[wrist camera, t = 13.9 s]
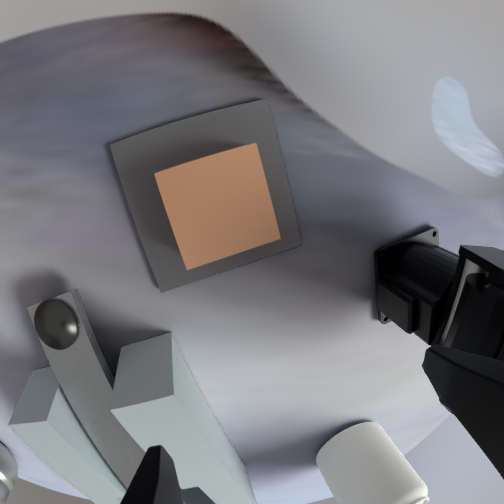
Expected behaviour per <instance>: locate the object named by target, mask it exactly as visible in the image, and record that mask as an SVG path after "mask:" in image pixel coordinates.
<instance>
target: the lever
mask: <svg viewBox="0 0 504 504" xmlns="http://www.w3.org/2000/svg"><path fill="white" fill-rule="evenodd" d="M27 309H28V312H29V314H30V317H31V320H32V323H33V325H34V328H35V330H36V333H37V335H38V338H39V340H40V343H41V345H42V347H43V350H44V352H45V354H46V357H47V359H48V361H49V363H50V365H51V367H52V370H53V372H54V374H55V376H56V378H57V380H58V382H59V384H60V386H61V388H62V390H63V392H64V393H65V395H66V397H67V399H68V401H69V403H70V404H71V406H72V408H73V410H74V412H75V413H76V415H77V417H78V418H79V420H80V422H81V423H82V425H83V427H84V428H85V430H86V432H87V433H88V435H89V436H90V438H91V439H92V441H93V442H94V444H95V446H96V447H97V448H98V450H99V451H100V453H101V454H102V456H103V457H104V459H105V460H106V461H107V463H108V464H109V466H110V467H111V468H112V470H113V471H114V472H115V474H116V475H117V476H118V478H119V479H120V480H121V482H122V483H123V484H124V485H125V487H126V488H127V489H128V487H129V485H130V483H131V481H132V479H133V477H134V475H135V473H136V471H137V469H138V467H139V465H140V463H141V461H142V459H143V457H144V455H145V453H146V452H145V451H144V450H143V449H142V448H141V447H140V446H139V445H138V443H137V442H136V441H135V440H134V439H133V438H132V437H131V435H130V434H129V433H128V432H127V431H126V430H125V428H124V427H123V426H122V425H121V423H120V422H119V421H118V420H117V419H116V417H115V416H114V415H113V413H112V412H111V411H110V406H111V400H112V394H113V388H114V382H115V379H114V377H113V375H112V373H111V371H110V369H109V367H108V365H107V362H106V360H105V358H104V356H103V354H102V351H101V349H100V347H99V344H98V342H97V340H96V337H95V335H94V333H93V330H92V328H91V325H90V323H89V320H88V318H87V315H86V312H85V310H84V307H83V304H82V301H81V299H80V296H79V293H78V290H77V289H75V290H72V291H69V292H66V293H64V294H61V295H58V296H55V297H53V298H50V299H47V300H44V301H42V302H39V303H36V304H34V305H31V306H29V307H27ZM180 490H181V488H180ZM181 494H182V498H183V503H184V504H192V503H191V502H190V500H189V499H188V498H187V496H186V495H185V494H184V492H183V491H182V490H181Z"/></svg>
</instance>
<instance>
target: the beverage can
mask: <svg viewBox="0 0 504 504" xmlns="http://www.w3.org/2000/svg"><path fill="white" fill-rule="evenodd" d="M316 463H317V465H318V467H319V469H320V471H321V473H322V475H323V477H324V479H325V481H326V483H327V484H328V486H329V488H330V490H331V492H332V494H333V496H334V498H335V500H336V501H337V503H338V504H427V503H428V501H429V497H427V486H426V485H425V483H424V482H423V481H422V480H421V478H420V477H419V476H418V474H417V473H416V472H415V470H414V469H413V468H412V467H411V465H410V464H409V463H408V461H407V460H406V459H405V457H404V456H403V455H402V454H401V452H400V451H399V450H398V448H397V447H396V446H395V444H394V443H393V442H392V440H391V439H390V438H389V437H388V435H387V434H386V433H385V431H384V430H383V429H382V427H381V426H380V425H379V424H378V423H375V422H364V423H360V424H356V425H354V426H351V427H349V428H347V429H345V430H343V431H341V432H339V433H338V434H336V435H335V436H334V437H332V438H331V439H330V440H329V441H327V442H326V443H325V444H324V445H323V446H322V448H321V449H320V450H319V452H318V454H317V456H316Z"/></svg>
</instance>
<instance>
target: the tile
mask: <svg viewBox="0 0 504 504" xmlns="http://www.w3.org/2000/svg"><path fill="white" fill-rule="evenodd" d="M154 175H155V178H156V181H157V184H158V187H159V191H160V194H161V197H162V200H163V203H164V206H165V209H166V212H167V215H168V218H169V221H170V224H171V227H172V230H173V233H174V236H175V238H176V241H177V244H178V247H179V250H180V253H181V255H182V258H183V261H184V264H185V266H186V269H187V270H190V269H192V268H195V267H198V266H201V265H204V264H207V263H210V262H213V261H216V260H219V259H222V258H225V257H228V256H231V255H234V254H237V253H240V252H243V251H246V250H249V249H252V248H255V247H258V246H261V245H264V244H267V243H270V242H273V241H276V240H279V239H281V238H280V233H279V229H278V225H277V221H276V217H275V213H274V209H273V205H272V201H271V197H270V193H269V189H268V186H267V182H266V178H265V174H264V170H263V166H262V162H261V159H260V155H259V151H258V147H257V144H256V143H252V144H246V145H242V146H238V147H235V148H231V149H227V150H224V151H220V152H217V153H214V154H210V155H207V156H203V157H200V158H197V159H194V160H190V161H187V162H184V163H181V164H178V165H175V166H172V167H169V168H166V169H163V170H160V171H157V172H156V173H154Z"/></svg>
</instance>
